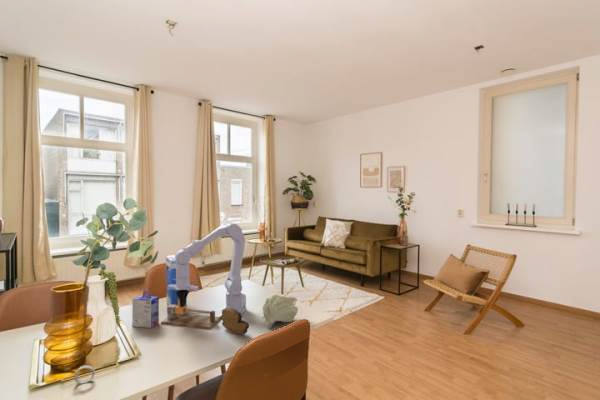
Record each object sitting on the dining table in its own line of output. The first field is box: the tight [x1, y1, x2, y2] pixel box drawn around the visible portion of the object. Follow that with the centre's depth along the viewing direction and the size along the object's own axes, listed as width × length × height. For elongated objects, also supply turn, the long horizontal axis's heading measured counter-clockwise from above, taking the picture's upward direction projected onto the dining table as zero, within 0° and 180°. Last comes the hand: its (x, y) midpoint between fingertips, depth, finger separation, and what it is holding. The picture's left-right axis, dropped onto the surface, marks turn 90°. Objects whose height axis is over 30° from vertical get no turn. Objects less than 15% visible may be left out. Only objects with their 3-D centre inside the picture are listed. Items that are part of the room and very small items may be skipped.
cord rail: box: [160, 304, 221, 330], centre depth 138 cm, size 24×10×6 cm, turn 79°
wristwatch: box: [74, 365, 96, 385], centre depth 95 cm, size 3×5×5 cm, turn 115°
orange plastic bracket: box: [175, 299, 187, 314], centre depth 139 cm, size 4×3×7 cm
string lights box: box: [165, 254, 188, 309], centre depth 155 cm, size 13×8×26 cm, turn 34°
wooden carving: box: [218, 307, 250, 336], centre depth 128 cm, size 16×5×10 cm, turn 59°
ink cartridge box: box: [131, 290, 160, 329], centre depth 134 cm, size 10×6×14 cm, turn 78°
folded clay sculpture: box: [262, 294, 299, 329], centre depth 137 cm, size 18×13×16 cm
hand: (183, 305), depth 138 cm, fingers closed
